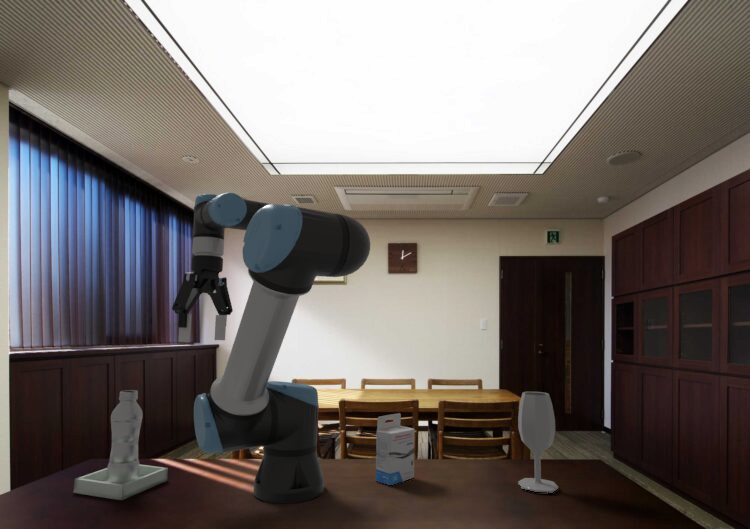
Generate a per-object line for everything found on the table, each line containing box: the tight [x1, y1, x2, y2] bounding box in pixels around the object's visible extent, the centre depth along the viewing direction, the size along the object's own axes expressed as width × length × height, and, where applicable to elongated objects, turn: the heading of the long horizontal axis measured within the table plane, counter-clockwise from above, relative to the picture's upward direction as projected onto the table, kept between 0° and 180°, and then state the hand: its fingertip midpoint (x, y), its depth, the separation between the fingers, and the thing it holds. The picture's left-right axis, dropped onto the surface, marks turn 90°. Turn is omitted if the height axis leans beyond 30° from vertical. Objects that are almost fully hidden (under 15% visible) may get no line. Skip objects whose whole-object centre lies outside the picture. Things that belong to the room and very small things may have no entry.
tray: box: [73, 463, 169, 501], centre depth 106 cm, size 13×13×3 cm
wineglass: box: [517, 391, 559, 494], centre depth 110 cm, size 9×9×21 cm
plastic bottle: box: [106, 389, 144, 484], centre depth 107 cm, size 6×7×20 cm
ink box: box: [375, 412, 416, 486], centre depth 113 cm, size 8×5×15 cm, turn 134°
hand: (202, 341), depth 118 cm, fingers open, 13 cm apart
